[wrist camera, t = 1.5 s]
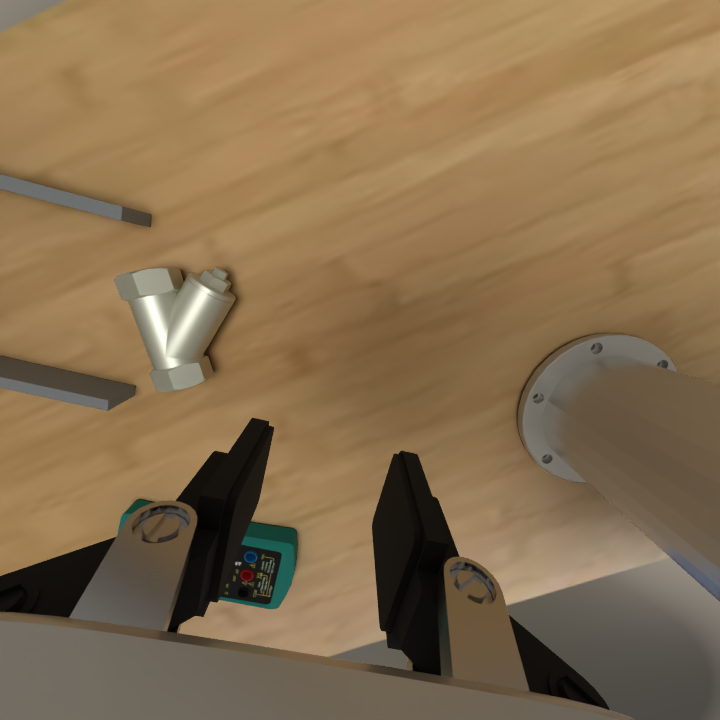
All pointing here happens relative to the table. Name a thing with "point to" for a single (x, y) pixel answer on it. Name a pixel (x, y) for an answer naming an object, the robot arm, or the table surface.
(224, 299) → the pipe fitting
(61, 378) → the gray u-shaped frame
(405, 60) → the table surface
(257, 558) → the digital multimeter
